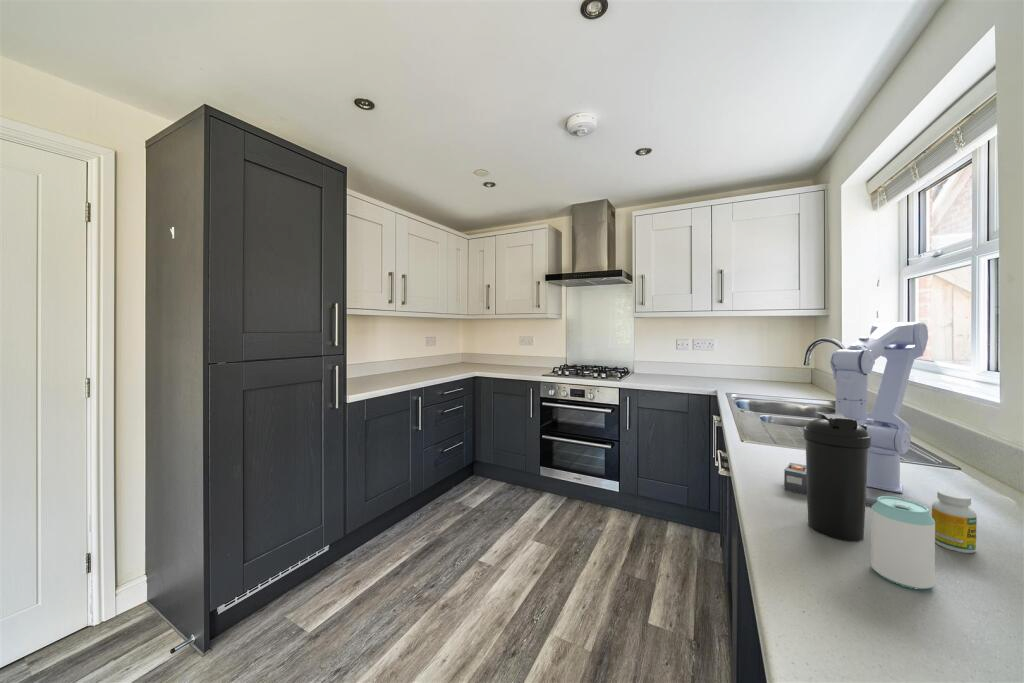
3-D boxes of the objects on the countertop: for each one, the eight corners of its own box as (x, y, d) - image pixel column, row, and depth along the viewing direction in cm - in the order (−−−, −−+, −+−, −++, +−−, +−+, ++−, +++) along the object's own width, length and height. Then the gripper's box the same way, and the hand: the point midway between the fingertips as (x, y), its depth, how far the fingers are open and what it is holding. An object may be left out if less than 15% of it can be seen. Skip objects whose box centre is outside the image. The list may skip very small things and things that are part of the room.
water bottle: (852, 522, 78) (853, 412, 78) (882, 548, 69) (883, 422, 68) (794, 514, 81) (795, 409, 81) (815, 538, 72) (816, 418, 72)
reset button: (792, 480, 98) (792, 464, 98) (803, 482, 96) (803, 466, 96) (790, 482, 96) (790, 466, 96) (802, 485, 94) (802, 469, 94)
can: (948, 595, 56) (949, 515, 56) (893, 589, 57) (894, 511, 57) (907, 566, 63) (908, 495, 63) (859, 562, 64) (860, 492, 64)
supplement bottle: (934, 535, 73) (935, 486, 73) (978, 548, 69) (979, 495, 68) (928, 543, 70) (929, 492, 70) (973, 557, 66) (974, 503, 66)
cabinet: (790, 481, 100) (790, 462, 100) (816, 486, 97) (816, 467, 96) (784, 489, 95) (784, 470, 95) (811, 496, 91) (812, 475, 91)
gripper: (873, 405, 83) (872, 466, 83) (874, 397, 93) (874, 452, 93) (831, 401, 88) (830, 458, 88) (837, 394, 98) (836, 446, 98)
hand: (850, 455), depth 91 cm, fingers closed
